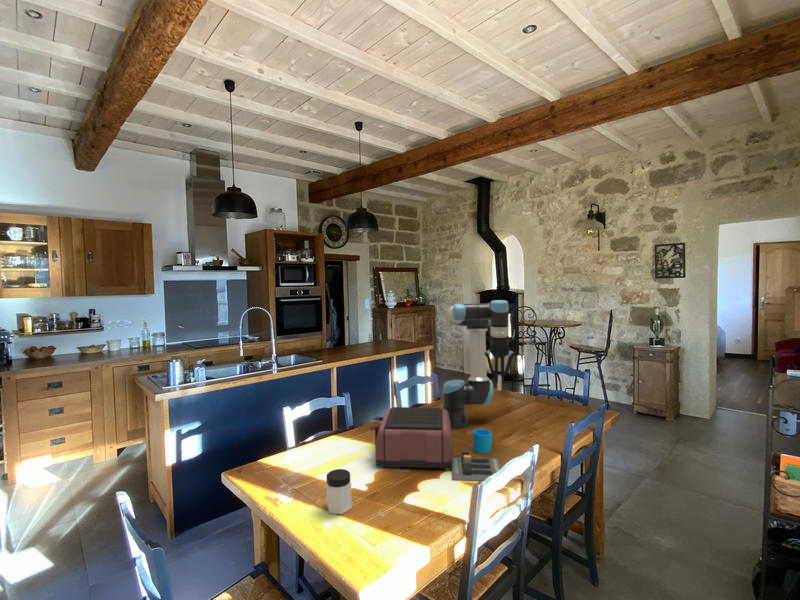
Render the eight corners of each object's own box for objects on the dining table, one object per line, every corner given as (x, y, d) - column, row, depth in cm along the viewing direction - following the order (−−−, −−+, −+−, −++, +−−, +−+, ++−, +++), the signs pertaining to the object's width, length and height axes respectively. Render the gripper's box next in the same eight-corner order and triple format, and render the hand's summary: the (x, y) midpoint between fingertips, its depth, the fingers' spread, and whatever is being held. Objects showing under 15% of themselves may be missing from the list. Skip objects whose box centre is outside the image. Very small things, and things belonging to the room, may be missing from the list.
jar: (341, 498, 148) (340, 466, 147) (356, 506, 143) (355, 472, 142) (321, 509, 141) (320, 475, 140) (337, 517, 136) (336, 483, 135)
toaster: (377, 439, 201) (377, 404, 200) (450, 441, 198) (450, 405, 197) (366, 469, 171) (365, 427, 170) (452, 471, 167) (452, 429, 166)
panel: (451, 461, 176) (451, 456, 176) (498, 463, 174) (498, 458, 174) (452, 480, 160) (452, 474, 160) (504, 481, 158) (504, 476, 158)
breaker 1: (461, 458, 174) (461, 449, 173) (468, 458, 173) (468, 449, 173) (462, 461, 171) (462, 452, 171) (469, 461, 170) (469, 452, 170)
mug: (484, 454, 182) (484, 437, 182) (469, 449, 188) (469, 432, 188) (499, 447, 190) (499, 430, 190) (485, 442, 196) (485, 425, 196)
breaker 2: (463, 464, 169) (463, 454, 168) (470, 464, 168) (470, 454, 168) (463, 467, 166) (463, 457, 166) (471, 467, 165) (471, 457, 165)
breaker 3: (463, 469, 164) (463, 460, 163) (470, 469, 163) (470, 460, 163) (463, 473, 161) (463, 463, 161) (471, 473, 161) (471, 463, 160)
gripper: (484, 337, 172) (484, 392, 173) (516, 337, 170) (516, 392, 172) (483, 334, 179) (483, 387, 181) (513, 334, 178) (513, 387, 179)
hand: (499, 389), depth 176 cm, fingers closed
